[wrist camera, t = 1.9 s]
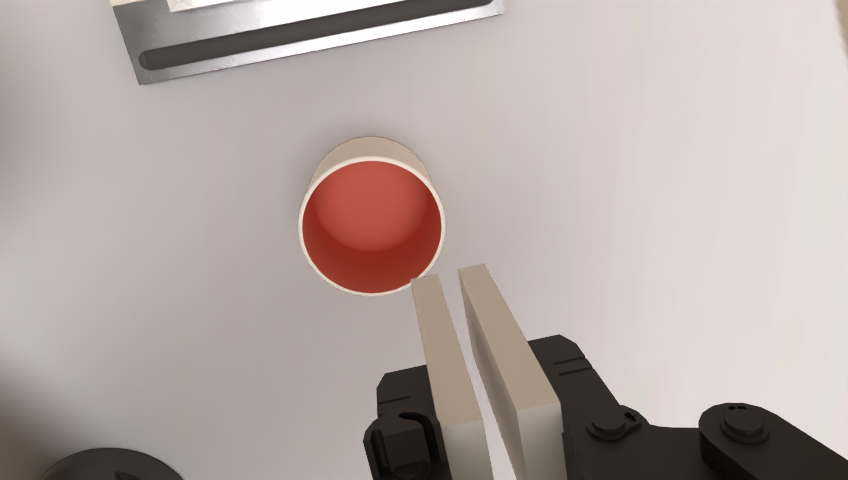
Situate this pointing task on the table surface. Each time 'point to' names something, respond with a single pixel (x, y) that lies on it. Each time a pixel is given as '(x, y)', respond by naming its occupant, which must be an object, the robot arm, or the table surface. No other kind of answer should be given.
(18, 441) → the table surface
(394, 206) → the cup
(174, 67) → the panel
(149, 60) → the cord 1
